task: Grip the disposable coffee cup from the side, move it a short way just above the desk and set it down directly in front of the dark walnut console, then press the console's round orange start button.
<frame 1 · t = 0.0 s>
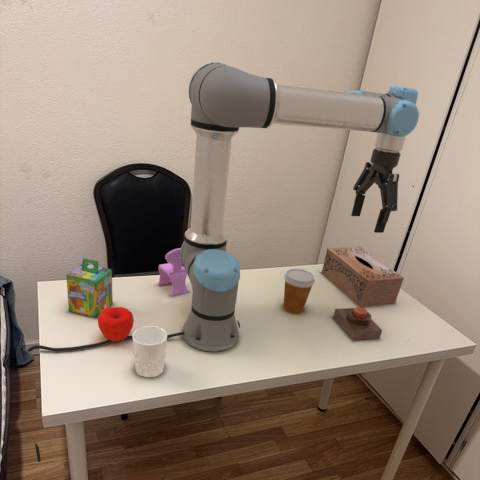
hand: (366, 223, 132), 28 cm above the table, tool pointing down, fingers open, 13 cm apart
disposable coffee cup: (293, 309, 140), on the table
console: (355, 328, 134), on the table
tissue box cover: (356, 287, 158), on the table
apple: (116, 338, 115), on the table
toy chair: (172, 288, 141), on the table
start button: (360, 312, 131), point 5 cm above the table, slide at 0.1 cm
chalk box: (91, 308, 126), on the table
white cup: (149, 369, 106), on the table
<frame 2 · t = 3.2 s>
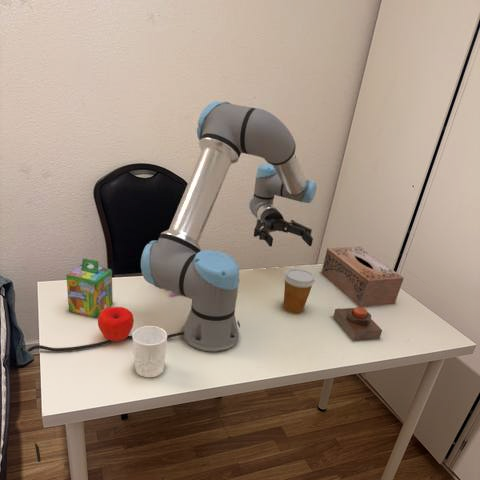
hand: (291, 242, 138), 18 cm above the table, tool horizontal, fingers open, 13 cm apart
nothing on the table moved.
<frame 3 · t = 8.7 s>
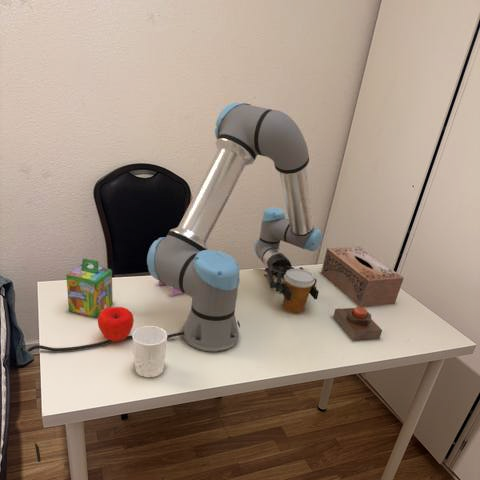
hand: (303, 296, 132), 7 cm above the table, tool horizontal, fingers closed on disposable coffee cup, 8 cm apart
disposable coffee cup: (293, 309, 140), on the table, touching gripper
everything else where it was.
when the fingers open (7 cm above the table, at t = 15.7 s): disposable coffee cup stays where it is, on the table.
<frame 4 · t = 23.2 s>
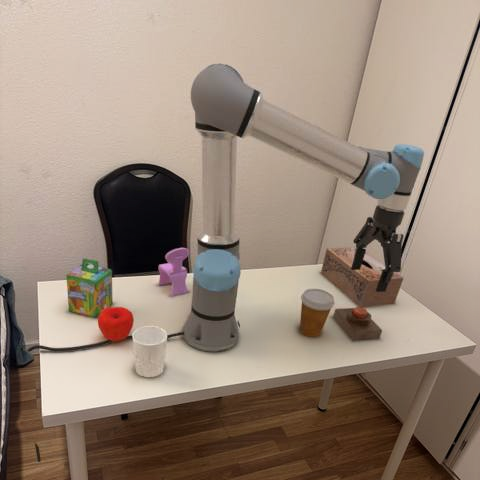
hand: (367, 279, 126), 16 cm above the table, tool pointing down, fingers open, 13 cm apart
disposable coffee cup: (309, 331, 129), on the table
everything else where it was.
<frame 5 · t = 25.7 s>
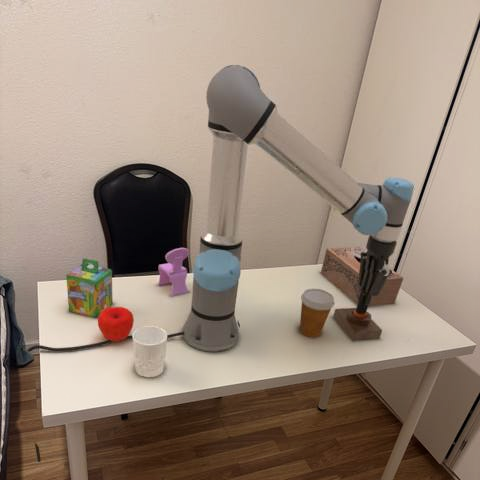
hand: (360, 311, 131), 6 cm above the table, tool pointing down, fingers closed
start button: (359, 314, 131), point 5 cm above the table, slide at -0.7 cm, touching gripper
everything else where it was.
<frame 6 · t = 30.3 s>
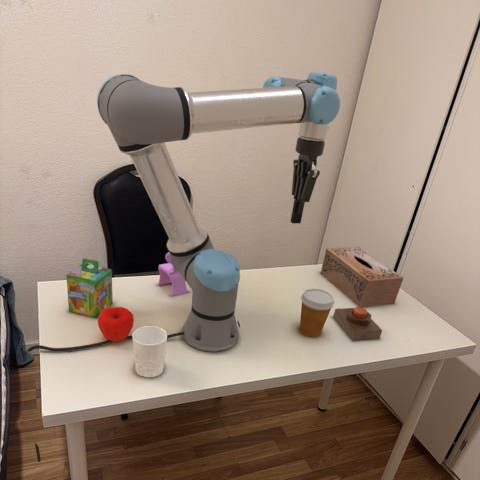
hand: (295, 222, 130), 26 cm above the table, tool pointing down, fingers closed
start button: (360, 312, 131), point 5 cm above the table, slide at 0.1 cm
everything else where it was.
at the end: disposable coffee cup inside the target area on the table beside the console (0.1 cm from its centre), on the table; disposable coffee cup tilted 0°; start button pushed in 1.0 cm at the most during the clip, back to where it started at the end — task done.
